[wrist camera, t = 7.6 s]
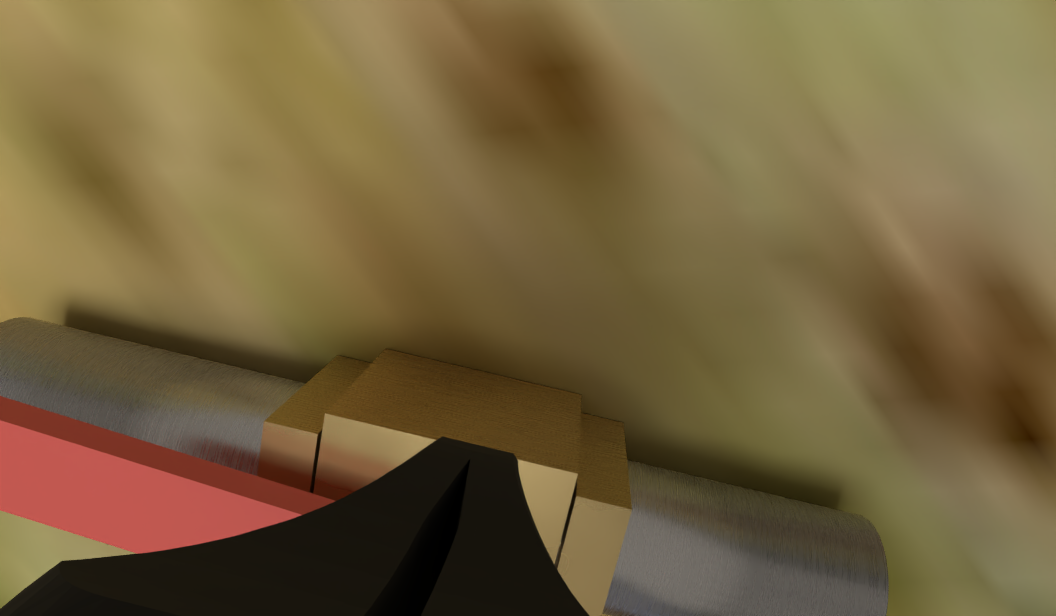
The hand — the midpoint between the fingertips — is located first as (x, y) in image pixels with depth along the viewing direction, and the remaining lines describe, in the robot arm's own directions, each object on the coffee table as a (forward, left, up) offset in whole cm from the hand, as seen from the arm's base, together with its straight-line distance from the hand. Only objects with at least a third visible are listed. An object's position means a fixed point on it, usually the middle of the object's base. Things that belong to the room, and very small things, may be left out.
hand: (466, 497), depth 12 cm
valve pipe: (-5, +1, -10) cm, 12 cm away
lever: (-5, +6, -5) cm, 9 cm away
